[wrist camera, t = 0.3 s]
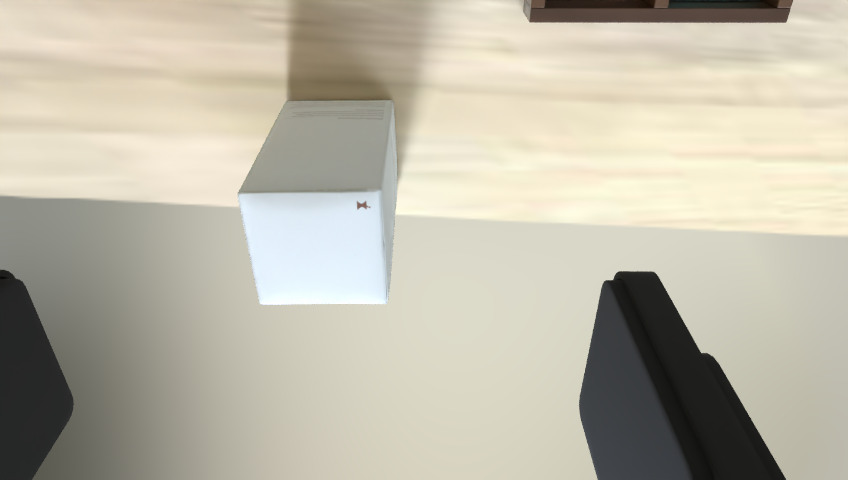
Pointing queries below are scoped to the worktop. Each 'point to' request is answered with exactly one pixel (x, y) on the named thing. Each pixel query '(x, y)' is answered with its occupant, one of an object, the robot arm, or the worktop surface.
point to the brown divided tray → (658, 11)
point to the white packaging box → (323, 204)
